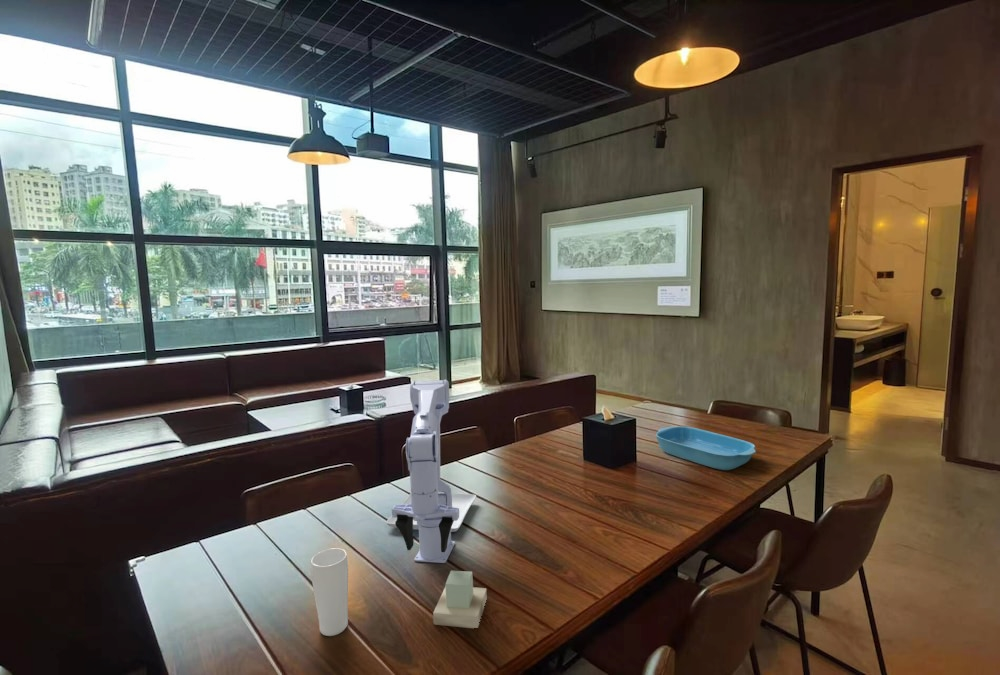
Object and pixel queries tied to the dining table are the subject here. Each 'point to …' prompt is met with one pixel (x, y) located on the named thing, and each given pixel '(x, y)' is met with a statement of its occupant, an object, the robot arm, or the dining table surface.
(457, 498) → the salad plate
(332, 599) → the drinking glass
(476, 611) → the birch base
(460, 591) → the sage block
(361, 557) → the dining table surface
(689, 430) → the casserole dish
